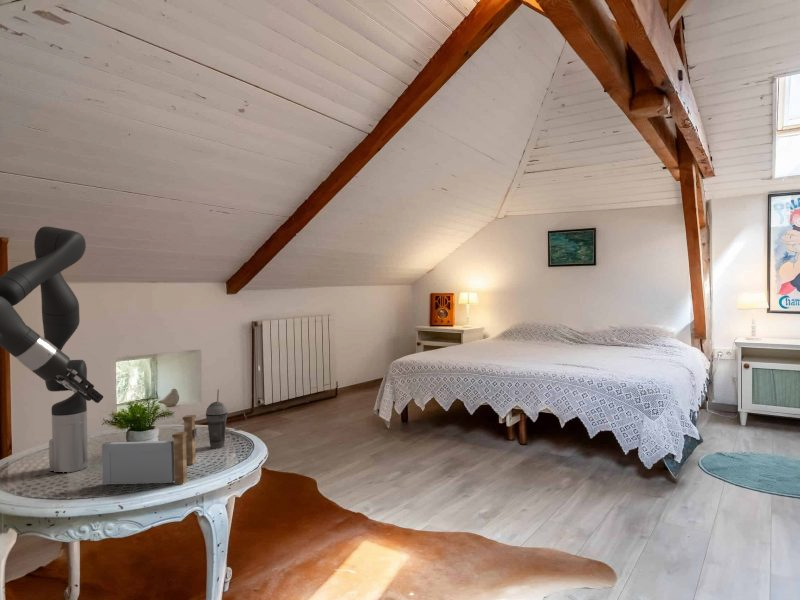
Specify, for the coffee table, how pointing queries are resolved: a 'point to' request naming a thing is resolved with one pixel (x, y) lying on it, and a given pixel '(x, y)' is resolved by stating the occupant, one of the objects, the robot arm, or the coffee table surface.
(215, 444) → the beverage cup
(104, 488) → the coffee table surface
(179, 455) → the hinge post
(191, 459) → the post
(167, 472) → the gate
